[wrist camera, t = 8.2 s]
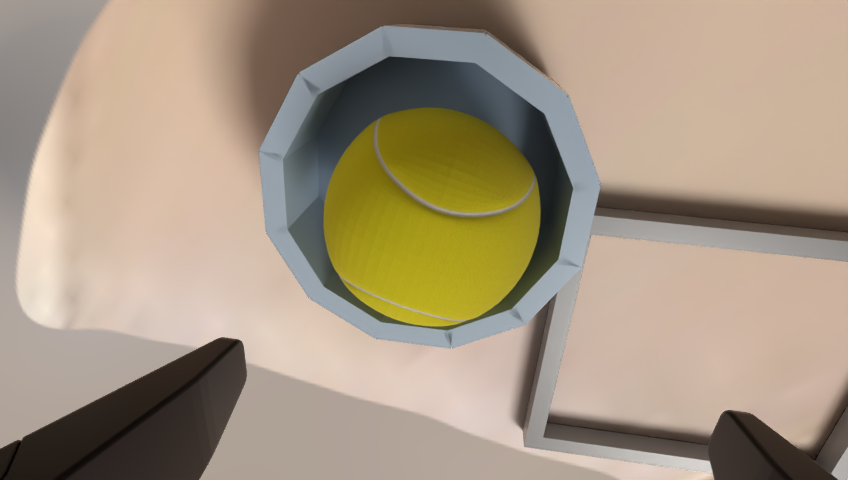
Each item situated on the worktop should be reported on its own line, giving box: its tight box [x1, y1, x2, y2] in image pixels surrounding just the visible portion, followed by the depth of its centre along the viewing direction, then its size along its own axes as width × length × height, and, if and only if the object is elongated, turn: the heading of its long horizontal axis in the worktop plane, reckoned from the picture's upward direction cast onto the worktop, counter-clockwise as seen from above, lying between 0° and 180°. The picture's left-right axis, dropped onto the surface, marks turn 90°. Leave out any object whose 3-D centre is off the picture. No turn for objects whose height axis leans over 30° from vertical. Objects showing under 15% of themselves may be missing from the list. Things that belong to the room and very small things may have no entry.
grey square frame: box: [523, 207, 848, 480], centre depth 21 cm, size 15×13×1 cm
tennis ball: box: [324, 107, 541, 326], centre depth 16 cm, size 7×7×7 cm
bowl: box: [259, 24, 601, 348], centre depth 18 cm, size 11×11×4 cm
